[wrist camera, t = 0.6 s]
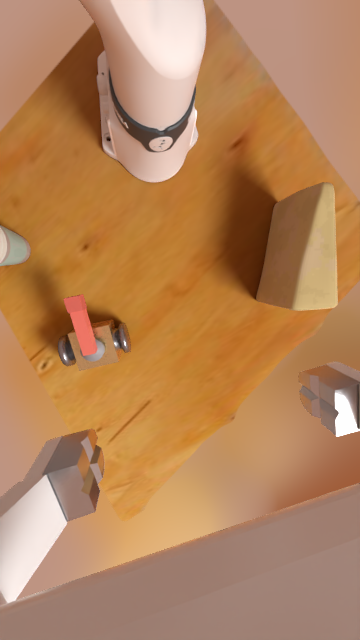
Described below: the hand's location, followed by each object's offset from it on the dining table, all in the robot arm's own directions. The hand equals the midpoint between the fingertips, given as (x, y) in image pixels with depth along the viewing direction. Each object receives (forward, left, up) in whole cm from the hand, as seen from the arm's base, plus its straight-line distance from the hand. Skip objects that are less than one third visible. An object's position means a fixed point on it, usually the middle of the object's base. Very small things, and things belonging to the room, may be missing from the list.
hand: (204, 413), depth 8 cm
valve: (+7, -14, -42) cm, 45 cm away
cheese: (-4, +30, -43) cm, 52 cm away
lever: (+2, -14, -36) cm, 39 cm away
